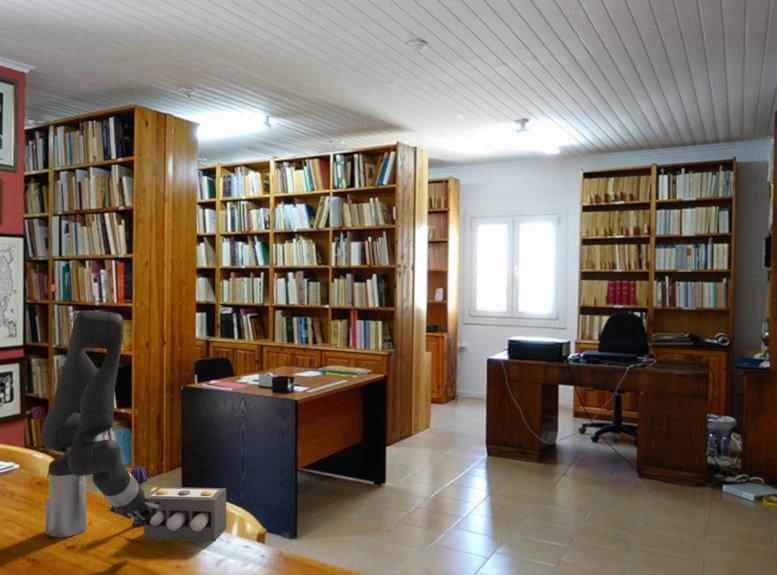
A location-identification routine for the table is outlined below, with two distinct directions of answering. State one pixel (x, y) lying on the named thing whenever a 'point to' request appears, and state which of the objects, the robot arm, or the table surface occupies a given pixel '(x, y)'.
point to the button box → (188, 513)
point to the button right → (200, 521)
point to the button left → (158, 517)
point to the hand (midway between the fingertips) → (146, 521)
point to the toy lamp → (140, 478)
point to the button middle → (177, 520)
